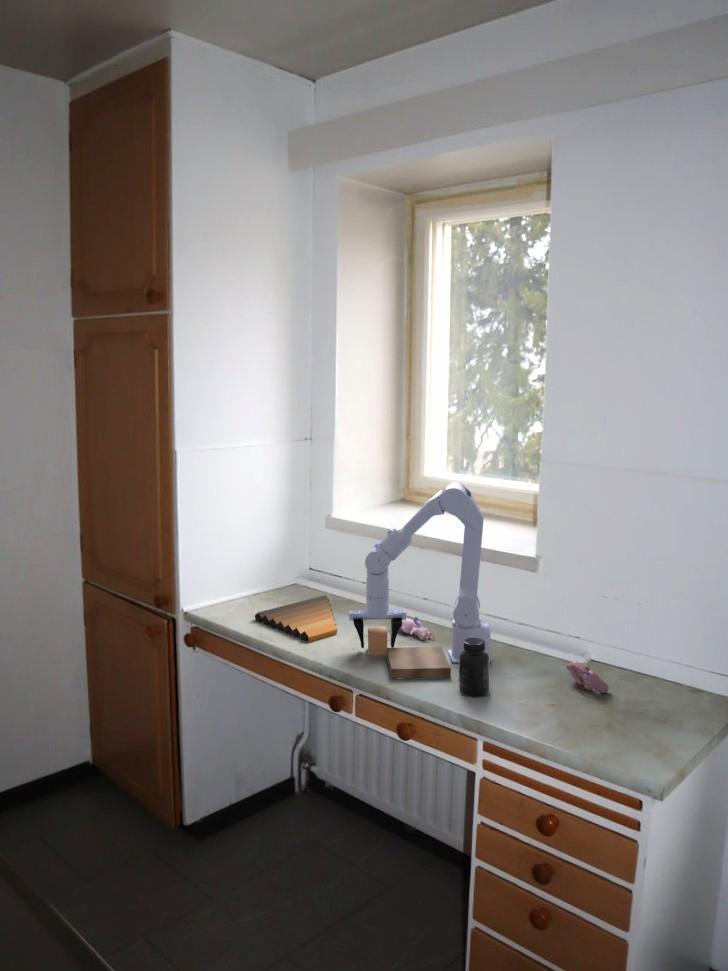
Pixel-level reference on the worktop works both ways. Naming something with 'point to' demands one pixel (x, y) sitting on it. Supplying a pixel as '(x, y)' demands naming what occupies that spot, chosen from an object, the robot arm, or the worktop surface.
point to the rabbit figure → (416, 629)
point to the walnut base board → (418, 662)
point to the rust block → (377, 640)
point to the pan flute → (302, 619)
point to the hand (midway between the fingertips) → (377, 646)
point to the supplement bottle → (474, 668)
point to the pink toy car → (587, 677)
